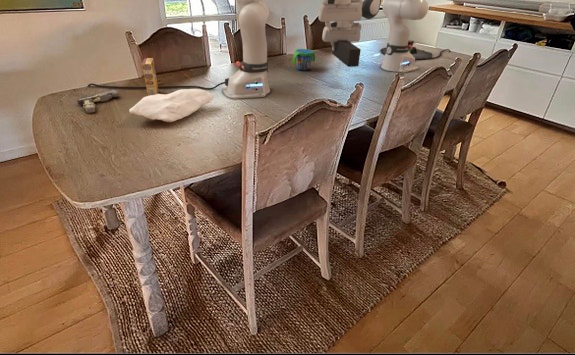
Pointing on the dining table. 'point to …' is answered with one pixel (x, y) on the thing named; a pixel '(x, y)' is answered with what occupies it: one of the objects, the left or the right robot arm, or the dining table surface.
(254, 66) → the left robot arm
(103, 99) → the handgun
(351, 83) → the dining table surface
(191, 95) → the crumpled cloth
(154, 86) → the candy box
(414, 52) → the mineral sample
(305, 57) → the snack cup
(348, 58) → the bar
